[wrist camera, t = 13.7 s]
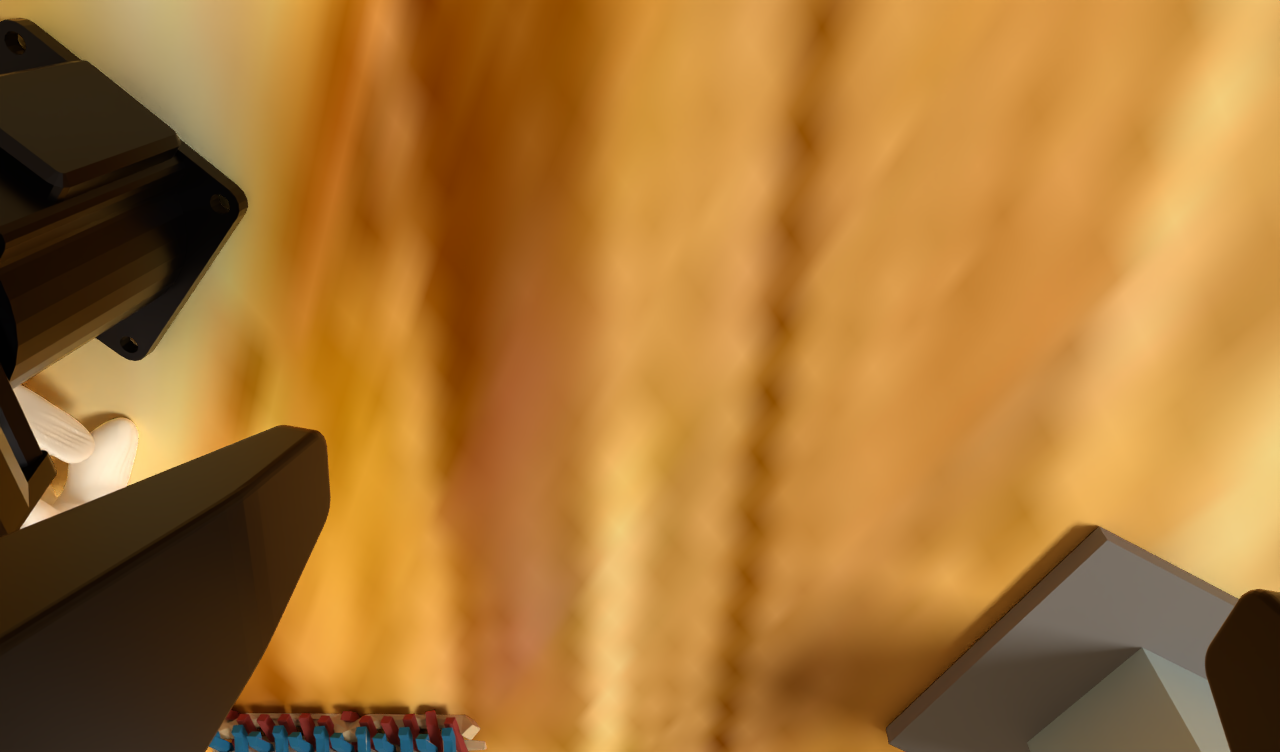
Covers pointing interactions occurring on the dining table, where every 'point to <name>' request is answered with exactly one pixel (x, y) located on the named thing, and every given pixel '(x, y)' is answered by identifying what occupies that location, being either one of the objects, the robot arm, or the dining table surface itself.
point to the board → (1139, 713)
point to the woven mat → (346, 733)
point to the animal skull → (78, 454)
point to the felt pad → (1064, 647)
